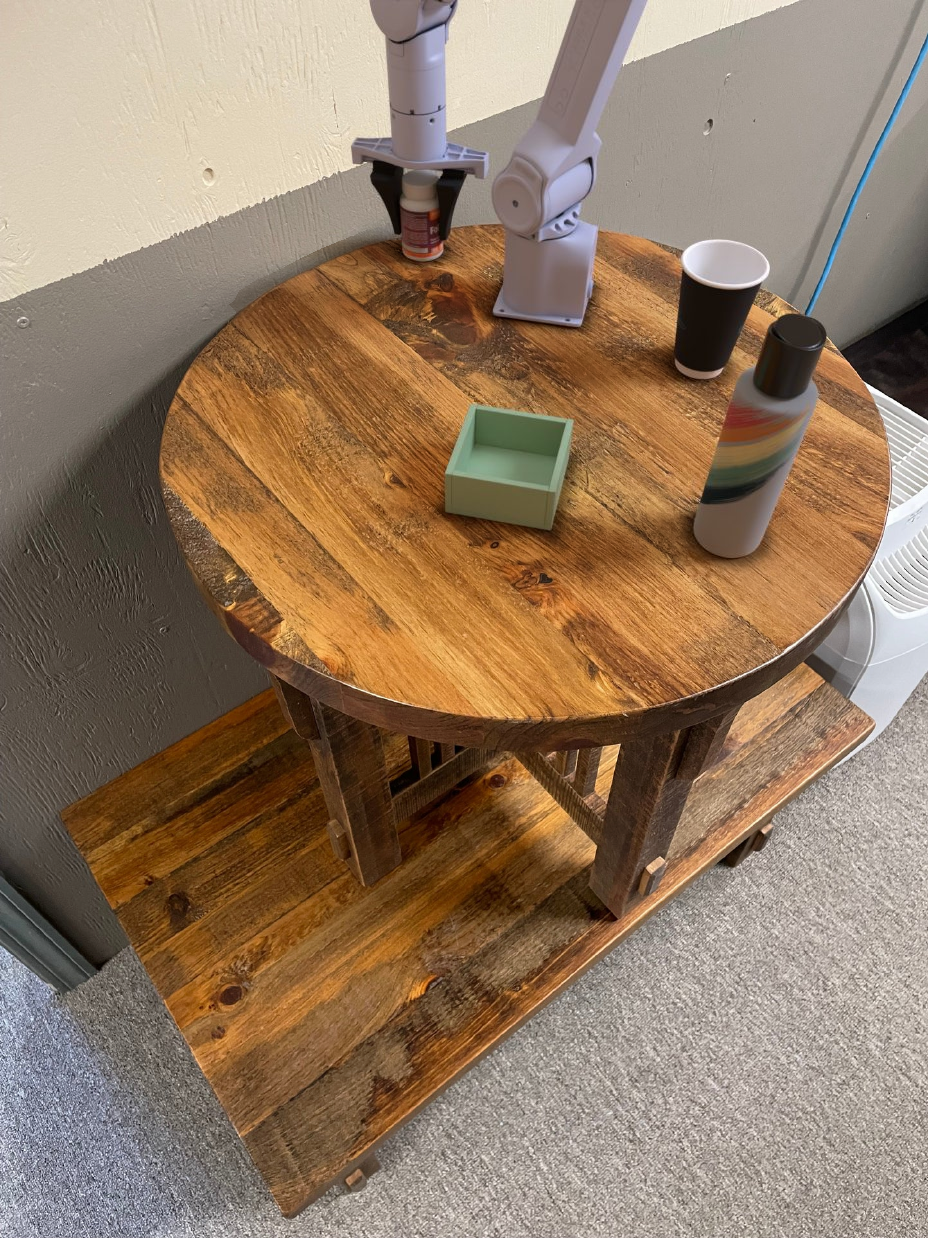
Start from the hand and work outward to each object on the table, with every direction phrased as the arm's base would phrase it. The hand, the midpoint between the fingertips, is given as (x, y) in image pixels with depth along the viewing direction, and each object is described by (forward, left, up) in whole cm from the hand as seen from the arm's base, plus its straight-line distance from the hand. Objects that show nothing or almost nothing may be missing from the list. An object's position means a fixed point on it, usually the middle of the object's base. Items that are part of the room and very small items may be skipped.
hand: (422, 233), depth 98 cm
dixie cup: (-32, +14, -2) cm, 35 cm away
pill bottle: (0, 0, -2) cm, 2 cm away
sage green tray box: (-17, +35, -2) cm, 39 cm away
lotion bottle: (-36, +37, -2) cm, 52 cm away
